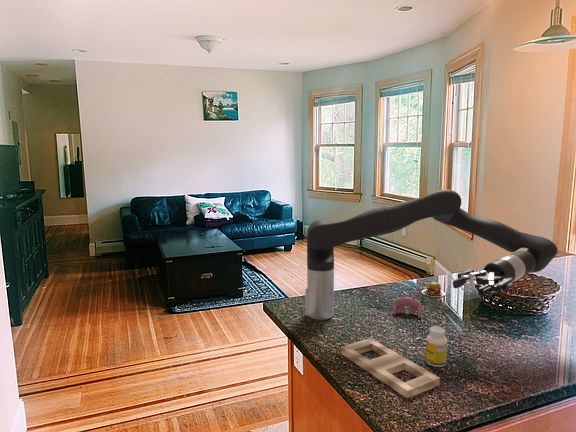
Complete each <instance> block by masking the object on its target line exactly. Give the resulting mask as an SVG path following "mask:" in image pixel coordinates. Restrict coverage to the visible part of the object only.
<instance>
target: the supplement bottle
mask: <svg viewBox="0 0 576 432" xmlns="http://www.w3.org/2000/svg"><path fill="white" fill-rule="evenodd" d="M425 344H426V345H425V346H426V347H425V361H426V363H427V364H428V365H430V366H432V367H435V368H436V367H437V368H441V367H442V368H443V367H445V366H446V365H447V361H448V360H447V359H448V357H447V356H448V338H447V337H446V329H445V328H444V327H441V326H439V325H438V326H437V325H434V326H431V327H429V334H427V336H426V343H425Z"/></svg>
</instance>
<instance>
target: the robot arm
mask: <svg viewBox="0 0 576 432" xmlns="http://www.w3.org/2000/svg"><path fill="white" fill-rule="evenodd" d="M461 206H462V198H461V195H460V194H459V193H458V192H456V191H455V190H452V189H448V188H447V189H441V190H437V191H434V192H431V193H428V194H426V195H423V196H420V197H417V198H413V199H411V200H410V199H409V200H405V201H400V202H395V203H394V204H393V203H392V204H387V205H384V206H380V207H375V208H372V209H369V210H366V211H363V212H361V213H359V214H356V215H355V216H353V217H351V218H348V219H345V220H342V221H337V222H331V223H329V222H328V221H325V220H323V219H321V220H320V219H319V220H315V221H313V222H311V223H310V224H309V226H308V228H307V231H306V266H307V267H306V271H307V272H306V273H307V274H306V277H307V278H306V280H307V281H306V283H307V284H306V285H307V286H306V289H305V290H304V291H305V292H304V293H305V295H304V296H305V297H304V300H305V302H304V303H305V308H304V309H305V310H304V311H305V313H304V316H305V317H309V318H311V319H314V320H320V321H321V320H323V321H324V320H329V319H332V318H333V317H334V315H335V314H334V313H335V312H334V311H335V307H334V306H335V305H334V304H335V255H334V254H335V253H334V248H335V247H338V246H340V245H341V246H342V245H344V244H346V243H350V242H353V241H359V240H360V241H361V240H365V239H366V240H367V239H370V238H374V237H380V236H383V235H388V234H392V233H395V232H397V231H401V230H403V229H405V228H406V227H408V226H411V225H412V224H415V223H416V222H419V221H421V220H425V219H429V218H433V220H435V221H436V222H439V223H442V224H444V225H448V226H450V227H453V228H456V229H459V230H462V231H464V232H467V233H470V234H472V235H475V236H477V237H479V238H482V239H484V240H485V241H487V242H489V243H492V244H493V245H495V246H497V247H499V248H501V249H503V250H504V251H506V252H509V253H510V254H509V255H505V256H502V257H500V258H497V259H496V260H493V261H491V262H489V263H487V264H486V265H484V268H483V269H482V270H478V271H475V269H474V268H469V269H467V270H464V271H461V272H459V273H457V279H455V280H453V281H452V286H453V287H452V288H454V289H456V290H457V289H458V288H460V287H463V286H465V285H471V286H479V285H480V287H479V288H478V289H477V293H478V296H480V297H483V296H486V295H488V294H490V293H491V294H493V293H495V292H496V293H497V294H499V295H501V294H503V293H505V292H507V291H508V290H510V289H511V288H513V287H514V286H513V282H516V281H518V280H519V279H521V278H522V277H524V276H526V275H528V274H533V273H538V272H541V271H542V270H544V269H546V267H547V266H549V264H550V263H551V261H553V260H554V258H555V257H556V255H557V254H558V251H559V249H558V247H557V245H556V244H555V243H554V242H553V241H552V240H551V239H548V238H547V237H543V236H539V235H534V234H530V233H527V232H526V233H525V232H521V231H520V230H518V229H514V228H513V227H511V226H509V225H507V224H505V223H503V222H500V221H497V220H493V219H490V218H485V217H481V216H477V215H474V214H472V213H469V212H467V211H466V210H464V209H462V208H461ZM520 249H526V250H520ZM518 250H519V251H518ZM474 278H475V281H474Z"/></svg>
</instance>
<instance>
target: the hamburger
mask: <svg viewBox="0 0 576 432" xmlns="http://www.w3.org/2000/svg"><path fill="white" fill-rule="evenodd" d="M426 287H427V288H426V289H423V290H422V291H421V294H423V295H424V296H426V295H427V294H428V295H427V297H429V296H430V297H429V298H435V297H438V298H441V297H445V296H446V292H445V291H443V290H442V286H441V284H440V283H439V282H437V281H430V282H428V284H427V286H426ZM426 290H427V291H426ZM424 291H425V292H427V294H425V292H424ZM423 292H424V293H423ZM429 294H430V295H429ZM441 294H442V295H441ZM432 295H433V296H432ZM440 295H441V296H440Z"/></svg>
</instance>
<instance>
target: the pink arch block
mask: <svg viewBox="0 0 576 432" xmlns="http://www.w3.org/2000/svg"><path fill="white" fill-rule="evenodd" d="M405 306H408V307H409V308H408V313H409V315H414V314H415V313H416V314H417V318H418V319H421V316H422V313H423V311H422V310H423V305H422V302H421V301H420V300H418V299H416V298H414V297H409V296H401V297H400V296H399V297H397V298H395V299H394V300H393V304H392V315H393V316H396V314H397V312H398V310H399V312H400V313H401V314H404V313H406V311H407V309H406V307H405Z"/></svg>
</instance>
